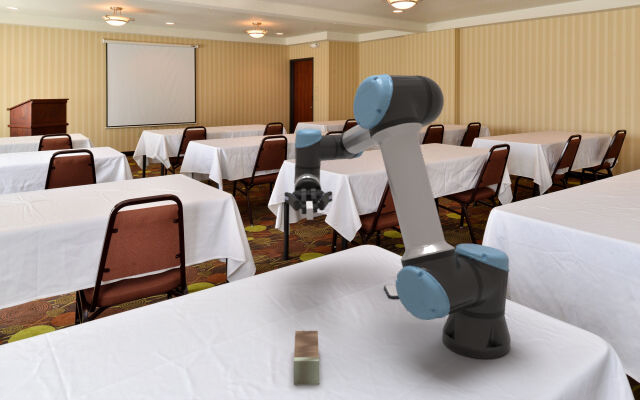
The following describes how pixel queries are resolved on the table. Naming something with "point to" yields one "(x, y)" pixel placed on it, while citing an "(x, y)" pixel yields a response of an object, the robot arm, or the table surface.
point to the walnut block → (306, 357)
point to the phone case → (391, 291)
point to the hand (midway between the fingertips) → (309, 214)
